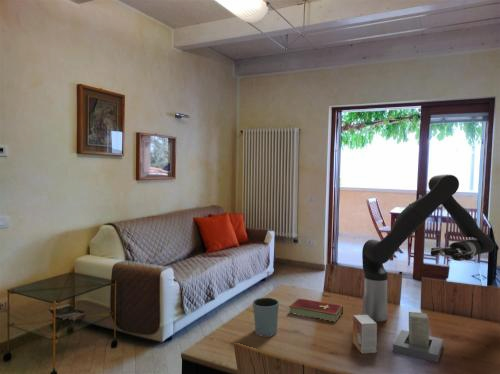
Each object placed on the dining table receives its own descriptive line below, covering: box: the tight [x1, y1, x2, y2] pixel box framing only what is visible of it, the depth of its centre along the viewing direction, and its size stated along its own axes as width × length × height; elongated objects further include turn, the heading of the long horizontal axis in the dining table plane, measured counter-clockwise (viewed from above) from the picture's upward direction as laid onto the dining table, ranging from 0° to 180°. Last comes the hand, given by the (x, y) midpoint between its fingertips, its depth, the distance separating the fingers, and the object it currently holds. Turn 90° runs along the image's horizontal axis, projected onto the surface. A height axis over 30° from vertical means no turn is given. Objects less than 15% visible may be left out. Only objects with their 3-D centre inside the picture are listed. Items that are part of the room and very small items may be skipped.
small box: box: [352, 314, 378, 354], centre depth 128 cm, size 8×6×10 cm
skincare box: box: [408, 311, 430, 349], centre depth 128 cm, size 6×4×12 cm
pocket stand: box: [392, 329, 444, 363], centre depth 128 cm, size 14×14×2 cm
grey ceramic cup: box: [252, 297, 280, 337], centre depth 142 cm, size 10×10×12 cm
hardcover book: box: [288, 298, 344, 323], centre depth 161 cm, size 12×21×4 cm, turn 62°
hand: (443, 255), depth 141 cm, fingers open, 8 cm apart
